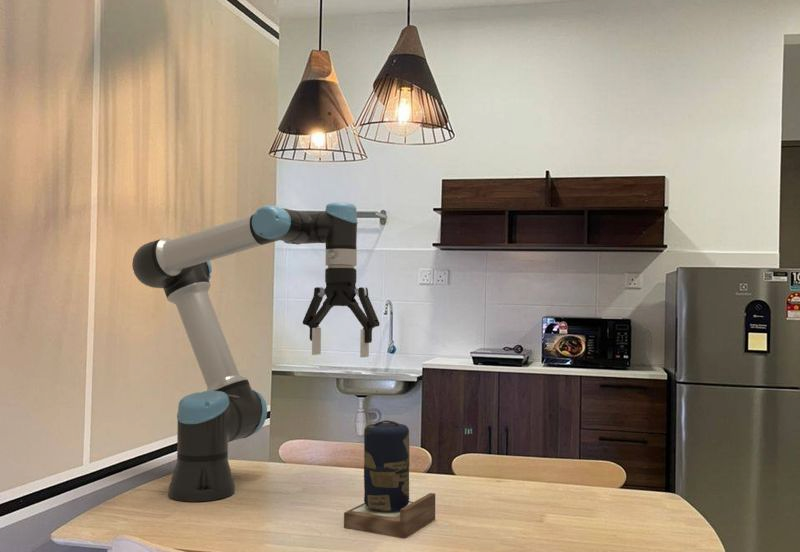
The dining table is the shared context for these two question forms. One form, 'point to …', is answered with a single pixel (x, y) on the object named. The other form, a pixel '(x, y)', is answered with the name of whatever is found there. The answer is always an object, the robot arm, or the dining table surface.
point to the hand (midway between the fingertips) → (340, 355)
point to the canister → (386, 466)
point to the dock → (392, 518)
